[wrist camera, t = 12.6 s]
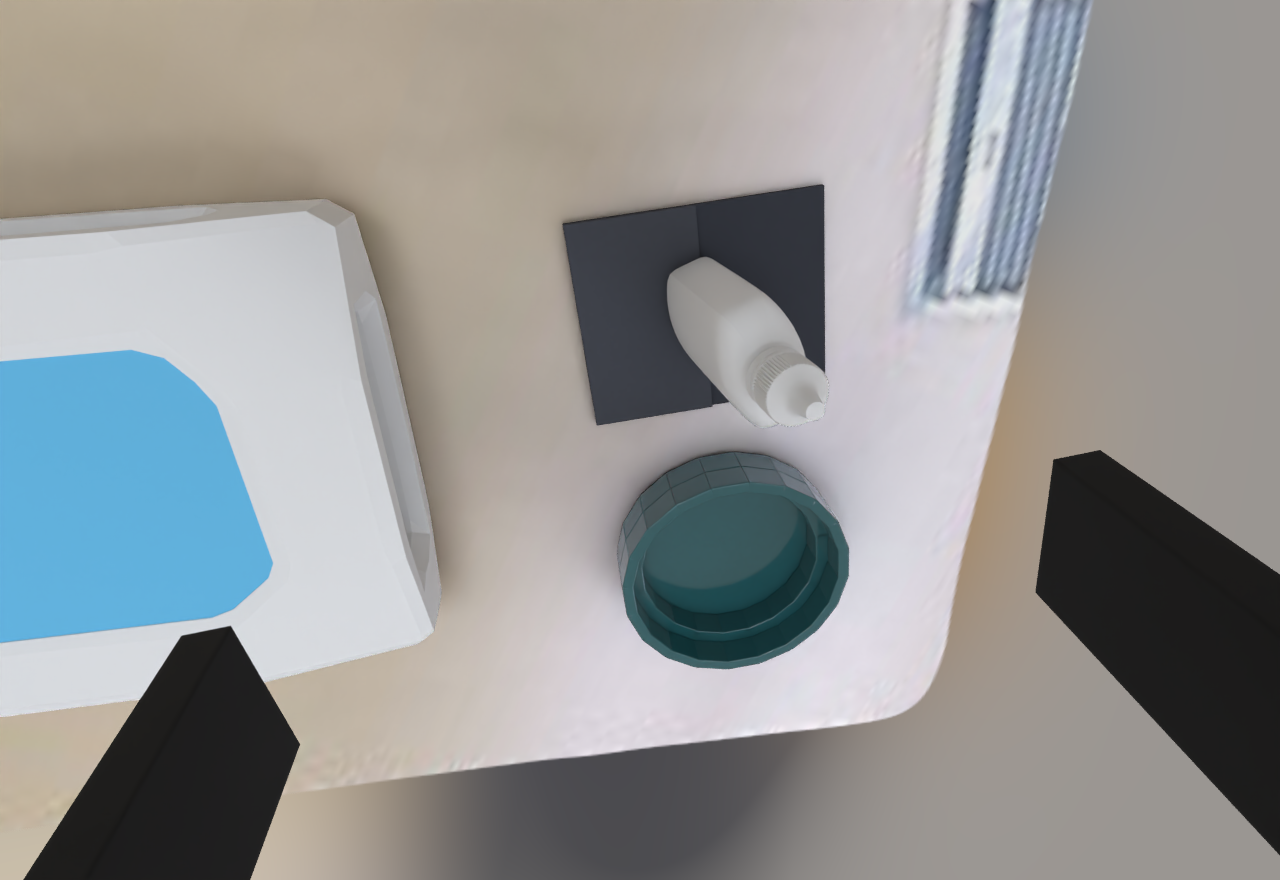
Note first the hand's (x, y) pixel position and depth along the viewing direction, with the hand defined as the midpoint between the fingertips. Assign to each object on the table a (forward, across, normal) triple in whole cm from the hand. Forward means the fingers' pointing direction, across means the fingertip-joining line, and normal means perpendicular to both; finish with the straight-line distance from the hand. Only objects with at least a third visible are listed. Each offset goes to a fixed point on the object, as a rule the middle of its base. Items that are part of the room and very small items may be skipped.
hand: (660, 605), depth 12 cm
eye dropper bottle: (+24, +5, -4) cm, 24 cm away
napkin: (+24, +5, -4) cm, 25 cm away
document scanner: (+24, -24, -4) cm, 34 cm away
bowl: (+24, +4, -18) cm, 30 cm away
